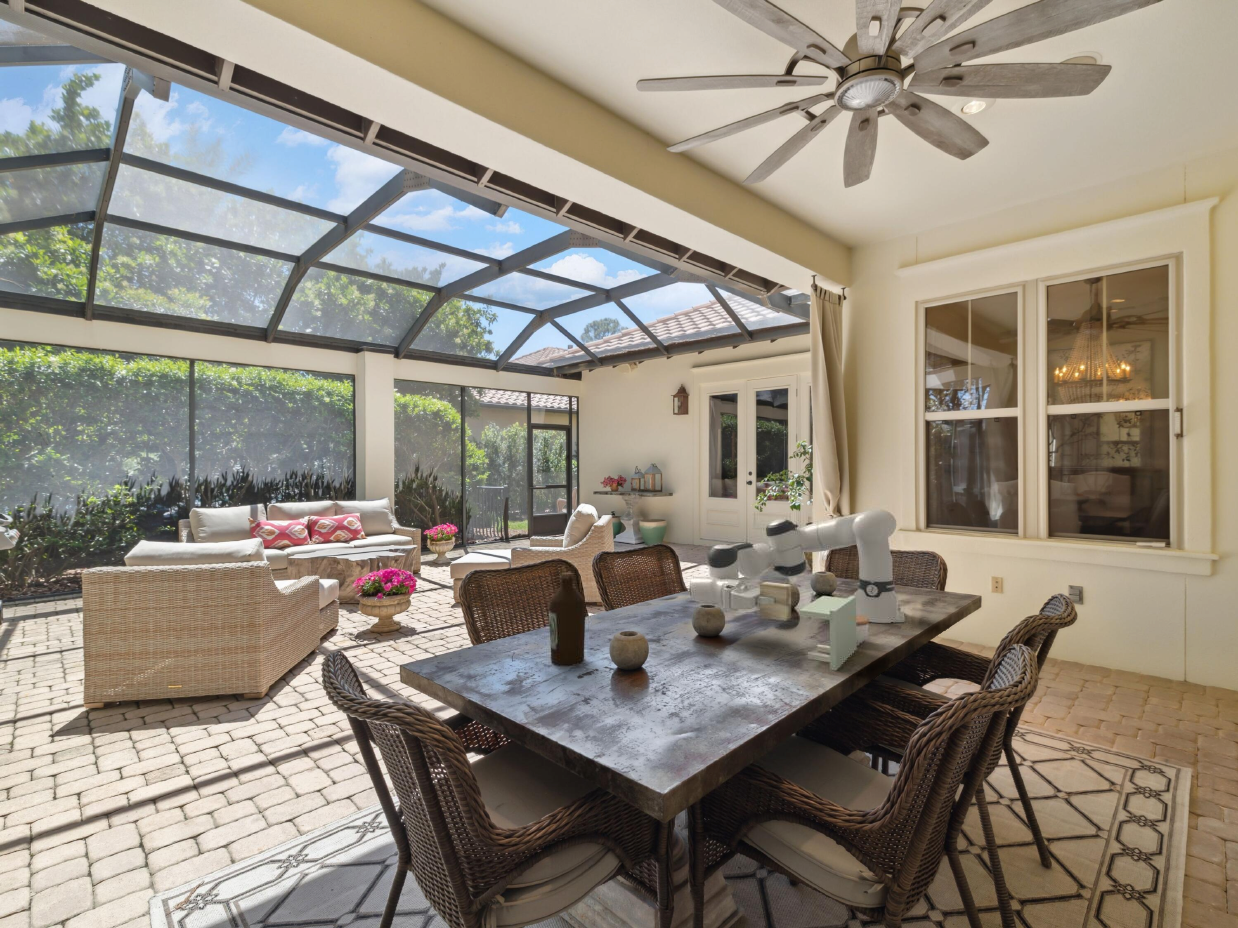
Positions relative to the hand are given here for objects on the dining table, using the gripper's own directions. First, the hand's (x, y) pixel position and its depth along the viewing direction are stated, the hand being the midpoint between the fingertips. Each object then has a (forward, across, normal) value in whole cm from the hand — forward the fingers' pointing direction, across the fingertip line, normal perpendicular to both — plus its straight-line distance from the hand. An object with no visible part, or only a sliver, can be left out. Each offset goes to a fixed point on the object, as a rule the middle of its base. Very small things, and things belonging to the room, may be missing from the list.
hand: (778, 599), depth 180 cm
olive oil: (-45, +45, -15) cm, 66 cm away
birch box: (-1, 0, -6) cm, 6 cm away
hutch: (+15, 0, -15) cm, 21 cm away
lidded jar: (+16, -18, -15) cm, 28 cm away
